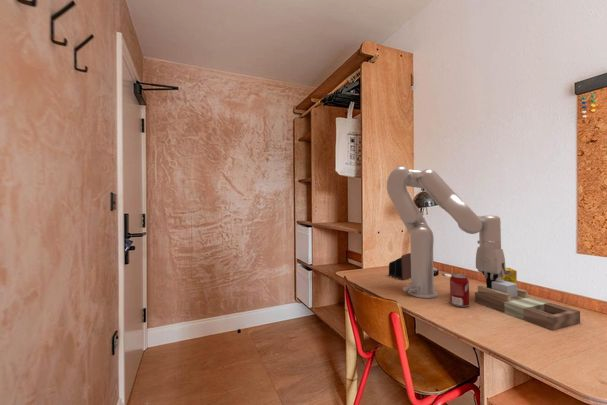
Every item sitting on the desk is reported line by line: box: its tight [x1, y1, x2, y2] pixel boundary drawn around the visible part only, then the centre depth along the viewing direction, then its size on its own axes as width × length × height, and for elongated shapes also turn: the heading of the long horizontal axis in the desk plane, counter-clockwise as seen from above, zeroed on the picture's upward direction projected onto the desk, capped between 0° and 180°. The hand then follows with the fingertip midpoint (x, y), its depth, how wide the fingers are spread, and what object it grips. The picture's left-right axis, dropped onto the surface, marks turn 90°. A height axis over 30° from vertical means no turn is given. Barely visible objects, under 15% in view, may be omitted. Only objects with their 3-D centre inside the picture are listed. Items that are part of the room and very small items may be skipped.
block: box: [492, 280, 518, 298], centre depth 109 cm, size 6×6×5 cm
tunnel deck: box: [474, 285, 581, 331], centre depth 103 cm, size 15×27×6 cm, turn 20°
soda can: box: [449, 273, 470, 308], centre depth 110 cm, size 7×7×12 cm
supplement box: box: [496, 267, 518, 285], centre depth 124 cm, size 6×6×11 cm
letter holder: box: [388, 252, 411, 281], centre depth 155 cm, size 10×20×14 cm, turn 120°
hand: (491, 288), depth 114 cm, fingers closed
